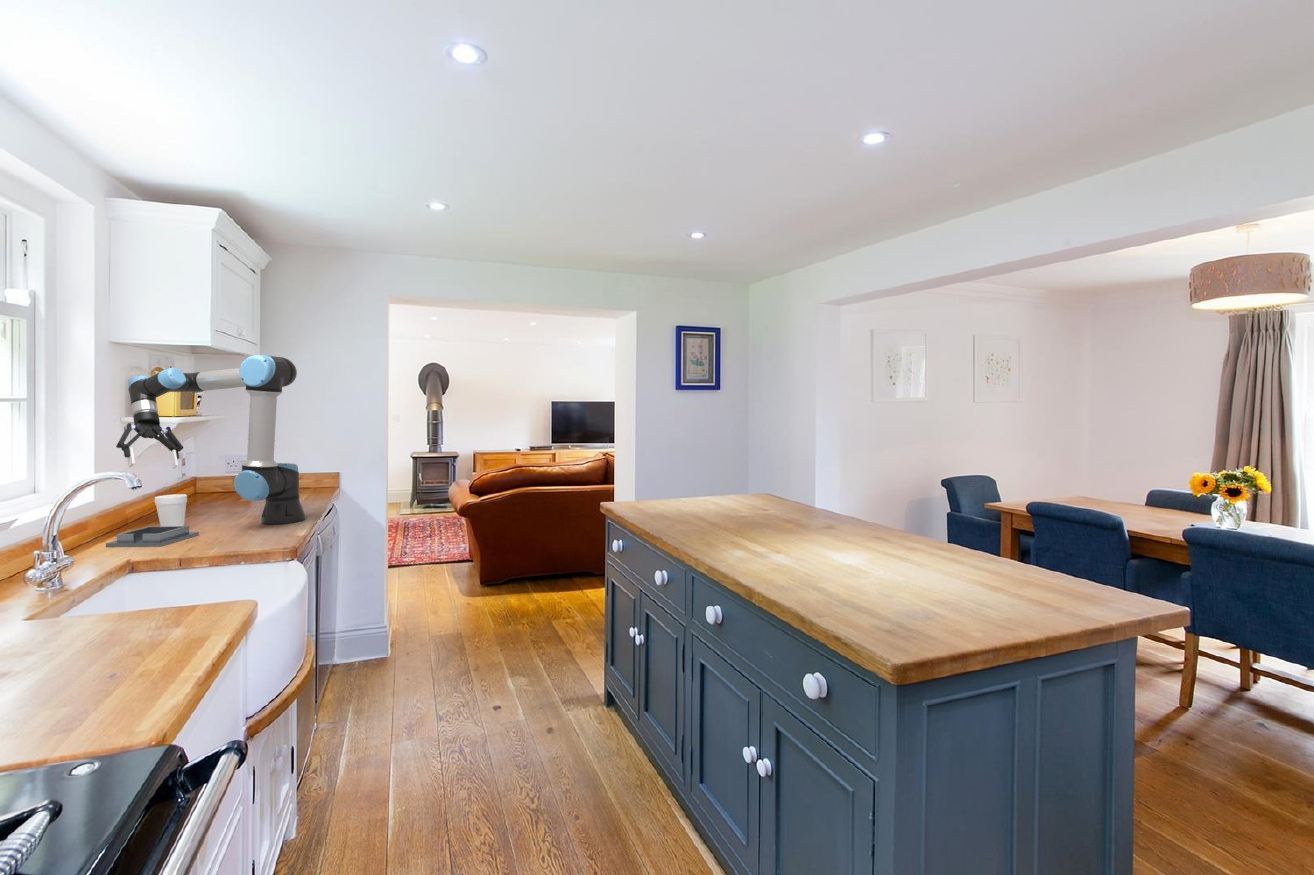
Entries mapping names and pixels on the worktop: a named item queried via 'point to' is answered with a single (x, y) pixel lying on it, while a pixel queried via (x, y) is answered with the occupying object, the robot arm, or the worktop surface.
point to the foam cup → (171, 509)
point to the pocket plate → (152, 536)
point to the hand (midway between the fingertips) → (154, 466)
